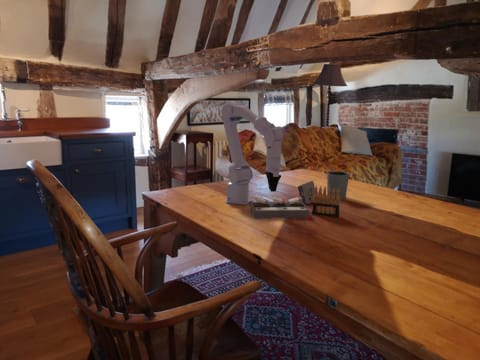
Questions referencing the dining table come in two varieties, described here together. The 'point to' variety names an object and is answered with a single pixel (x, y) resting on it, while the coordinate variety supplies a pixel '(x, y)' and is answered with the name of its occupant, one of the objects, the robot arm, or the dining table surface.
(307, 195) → the electrical switch
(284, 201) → the rocker middle
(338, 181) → the grey cup
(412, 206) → the dining table surface
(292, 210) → the switch panel
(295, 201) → the rocker right
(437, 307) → the dining table surface
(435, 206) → the dining table surface
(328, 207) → the ammunition clip
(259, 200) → the rocker left
